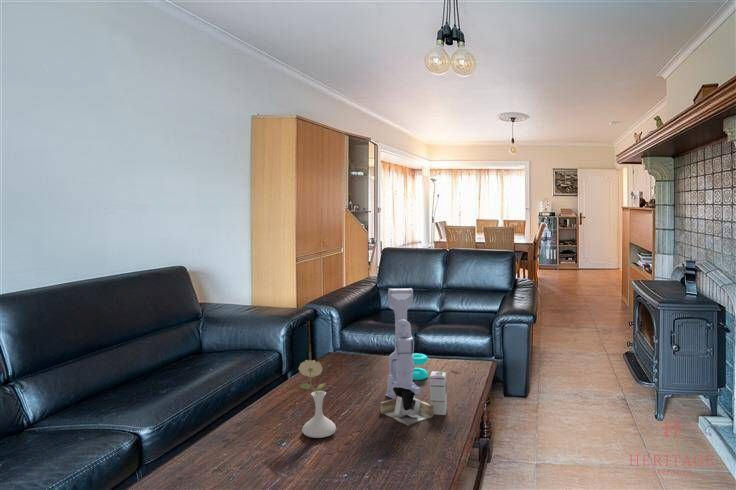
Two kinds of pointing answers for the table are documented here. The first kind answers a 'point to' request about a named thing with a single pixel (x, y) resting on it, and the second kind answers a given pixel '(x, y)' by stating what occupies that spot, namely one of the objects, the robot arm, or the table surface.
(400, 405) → the bracket
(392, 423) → the table surface
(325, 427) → the flower in vase
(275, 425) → the table surface
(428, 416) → the arena
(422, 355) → the donuts
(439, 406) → the syrup box
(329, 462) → the table surface
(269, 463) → the table surface
